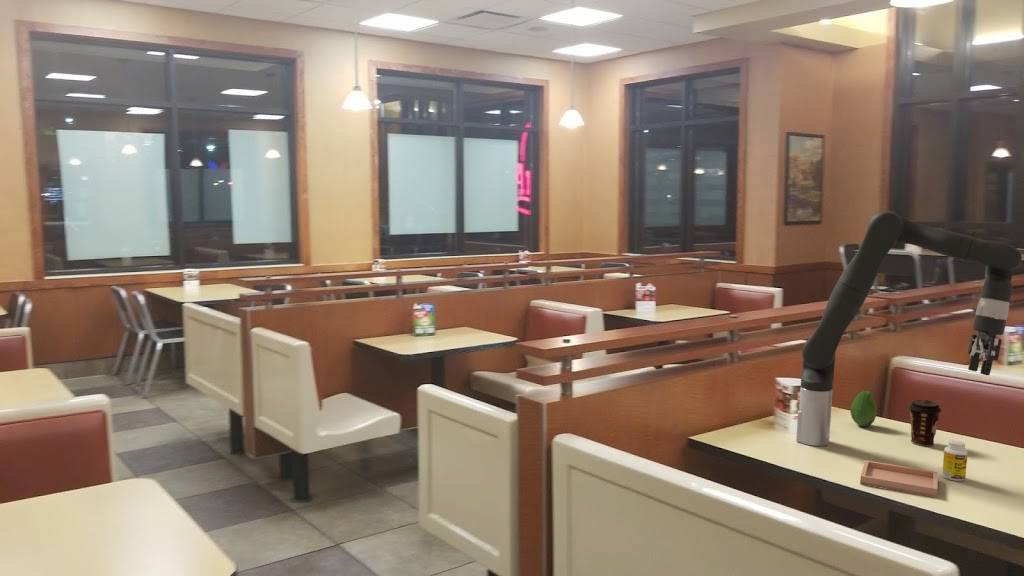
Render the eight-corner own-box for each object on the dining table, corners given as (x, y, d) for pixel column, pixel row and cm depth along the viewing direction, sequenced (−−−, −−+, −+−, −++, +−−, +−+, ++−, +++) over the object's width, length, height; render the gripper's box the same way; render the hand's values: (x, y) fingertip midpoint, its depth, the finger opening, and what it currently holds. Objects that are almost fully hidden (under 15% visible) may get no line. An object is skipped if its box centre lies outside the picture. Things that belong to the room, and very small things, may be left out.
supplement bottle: (952, 482, 207) (956, 446, 206) (937, 475, 212) (940, 439, 211) (970, 481, 208) (973, 444, 207) (954, 473, 214) (957, 438, 212)
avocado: (878, 425, 257) (880, 390, 256) (872, 430, 251) (874, 395, 250) (852, 420, 262) (855, 386, 261) (846, 426, 256) (848, 391, 254)
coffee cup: (931, 439, 243) (934, 399, 241) (943, 448, 235) (946, 406, 233) (902, 438, 244) (905, 398, 242) (913, 447, 236) (916, 405, 234)
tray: (860, 484, 205) (860, 476, 205) (864, 467, 217) (865, 460, 217) (936, 497, 197) (937, 489, 196) (936, 479, 209) (937, 471, 208)
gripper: (966, 312, 222) (954, 367, 223) (987, 314, 208) (974, 373, 209) (994, 317, 220) (982, 372, 221) (1017, 320, 206) (1004, 379, 207)
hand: (978, 372), depth 215 cm, fingers open, 8 cm apart
